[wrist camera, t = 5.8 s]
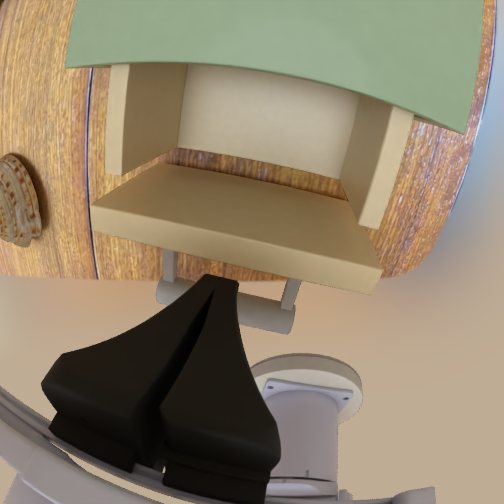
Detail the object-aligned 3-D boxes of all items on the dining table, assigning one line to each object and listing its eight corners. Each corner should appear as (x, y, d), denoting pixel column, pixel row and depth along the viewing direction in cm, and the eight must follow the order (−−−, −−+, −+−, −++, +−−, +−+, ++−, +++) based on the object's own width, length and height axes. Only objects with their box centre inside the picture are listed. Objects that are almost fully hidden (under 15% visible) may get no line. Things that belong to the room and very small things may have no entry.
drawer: (324, 290, 19) (328, 374, 13) (156, 252, 19) (105, 318, 13) (399, 15, 10) (456, -24, 4) (187, -20, 10) (125, -66, 4)
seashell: (35, 268, 21) (-31, 245, 17) (53, 230, 25) (-7, 211, 21) (40, 190, 17) (-36, 167, 13) (65, 159, 21) (-3, 139, 17)
